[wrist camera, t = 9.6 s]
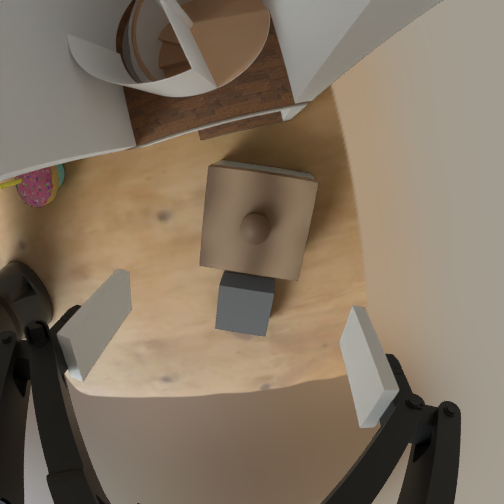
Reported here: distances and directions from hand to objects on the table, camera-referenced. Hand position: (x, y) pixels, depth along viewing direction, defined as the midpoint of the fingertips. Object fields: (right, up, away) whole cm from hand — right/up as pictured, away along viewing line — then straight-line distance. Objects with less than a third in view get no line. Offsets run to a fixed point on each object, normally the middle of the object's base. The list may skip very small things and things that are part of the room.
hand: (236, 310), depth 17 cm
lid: (+1, +7, +16) cm, 18 cm away
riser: (0, -3, +26) cm, 26 cm away
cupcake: (-30, +16, +21) cm, 39 cm away
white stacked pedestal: (-1, +23, +15) cm, 28 cm away
